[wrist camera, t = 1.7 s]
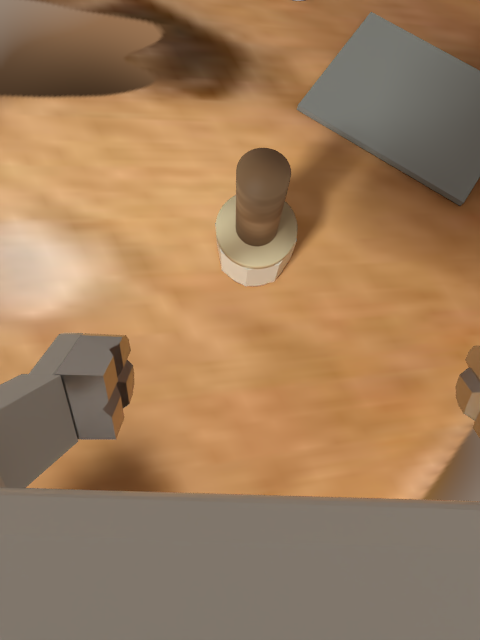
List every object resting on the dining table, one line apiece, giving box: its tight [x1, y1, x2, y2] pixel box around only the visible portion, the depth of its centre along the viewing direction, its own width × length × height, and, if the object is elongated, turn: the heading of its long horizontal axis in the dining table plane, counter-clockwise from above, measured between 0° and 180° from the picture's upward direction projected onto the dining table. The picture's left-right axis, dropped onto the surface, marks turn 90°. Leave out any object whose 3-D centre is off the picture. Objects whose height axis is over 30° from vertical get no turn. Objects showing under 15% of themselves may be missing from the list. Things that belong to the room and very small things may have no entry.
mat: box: [297, 12, 480, 206], centre depth 39 cm, size 18×14×1 cm
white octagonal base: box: [215, 223, 297, 286], centre depth 33 cm, size 6×6×4 cm
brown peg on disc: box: [216, 148, 297, 269], centre depth 27 cm, size 6×6×8 cm
